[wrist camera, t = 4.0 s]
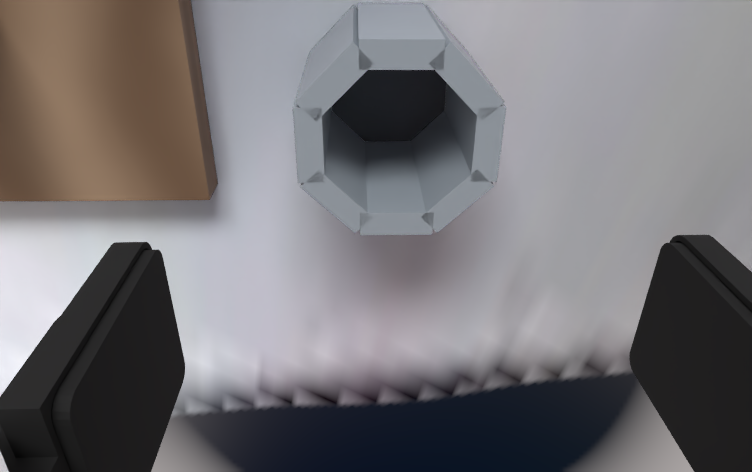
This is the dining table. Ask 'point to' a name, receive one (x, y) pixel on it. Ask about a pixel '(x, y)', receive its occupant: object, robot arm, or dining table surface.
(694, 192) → the dining table surface
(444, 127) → the roll
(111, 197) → the roll stand
